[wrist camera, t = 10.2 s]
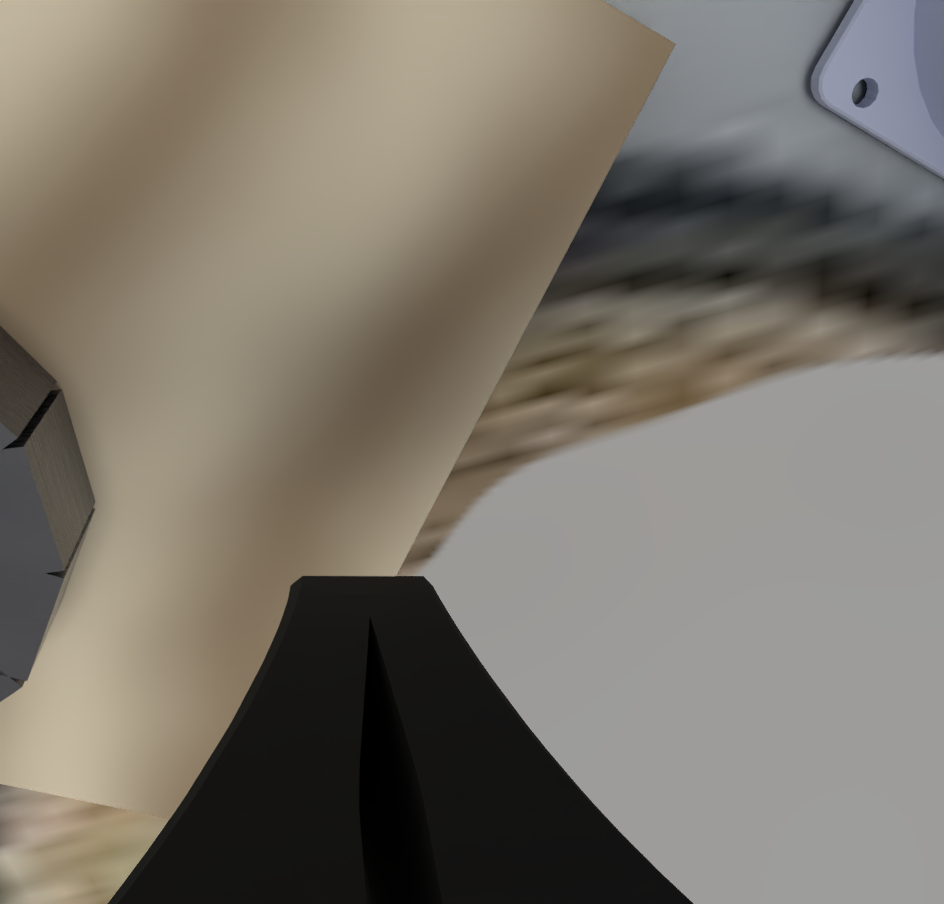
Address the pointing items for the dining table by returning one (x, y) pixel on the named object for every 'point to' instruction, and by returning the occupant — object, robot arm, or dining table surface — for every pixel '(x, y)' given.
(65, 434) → the grey faceted ring
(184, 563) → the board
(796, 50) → the dining table surface
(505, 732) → the robot arm
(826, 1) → the dining table surface
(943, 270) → the dining table surface
